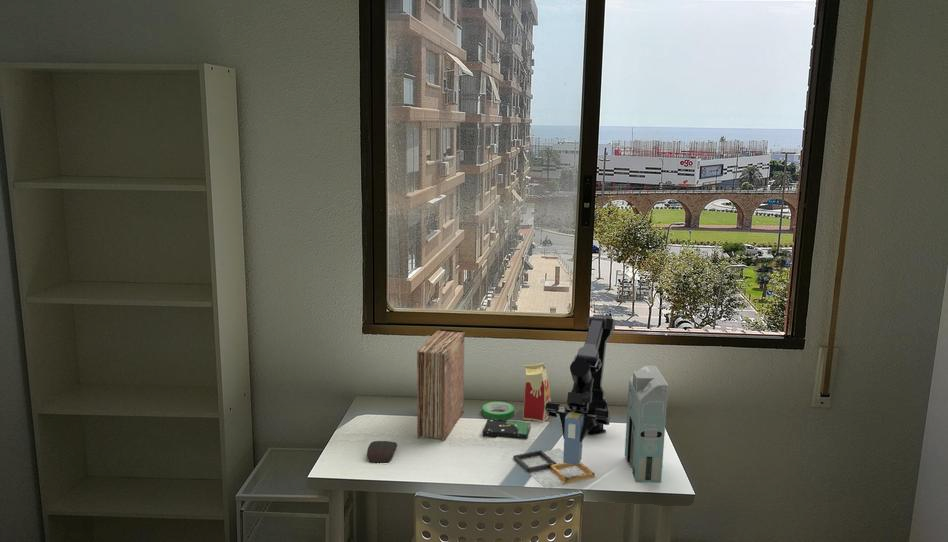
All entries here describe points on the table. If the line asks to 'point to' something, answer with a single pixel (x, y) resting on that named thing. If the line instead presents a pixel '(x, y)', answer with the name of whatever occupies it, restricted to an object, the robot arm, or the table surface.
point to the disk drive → (506, 429)
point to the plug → (573, 438)
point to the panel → (552, 468)
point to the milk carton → (536, 393)
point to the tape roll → (498, 406)
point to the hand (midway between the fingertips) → (572, 440)
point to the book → (440, 384)
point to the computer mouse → (381, 451)
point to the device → (646, 424)
